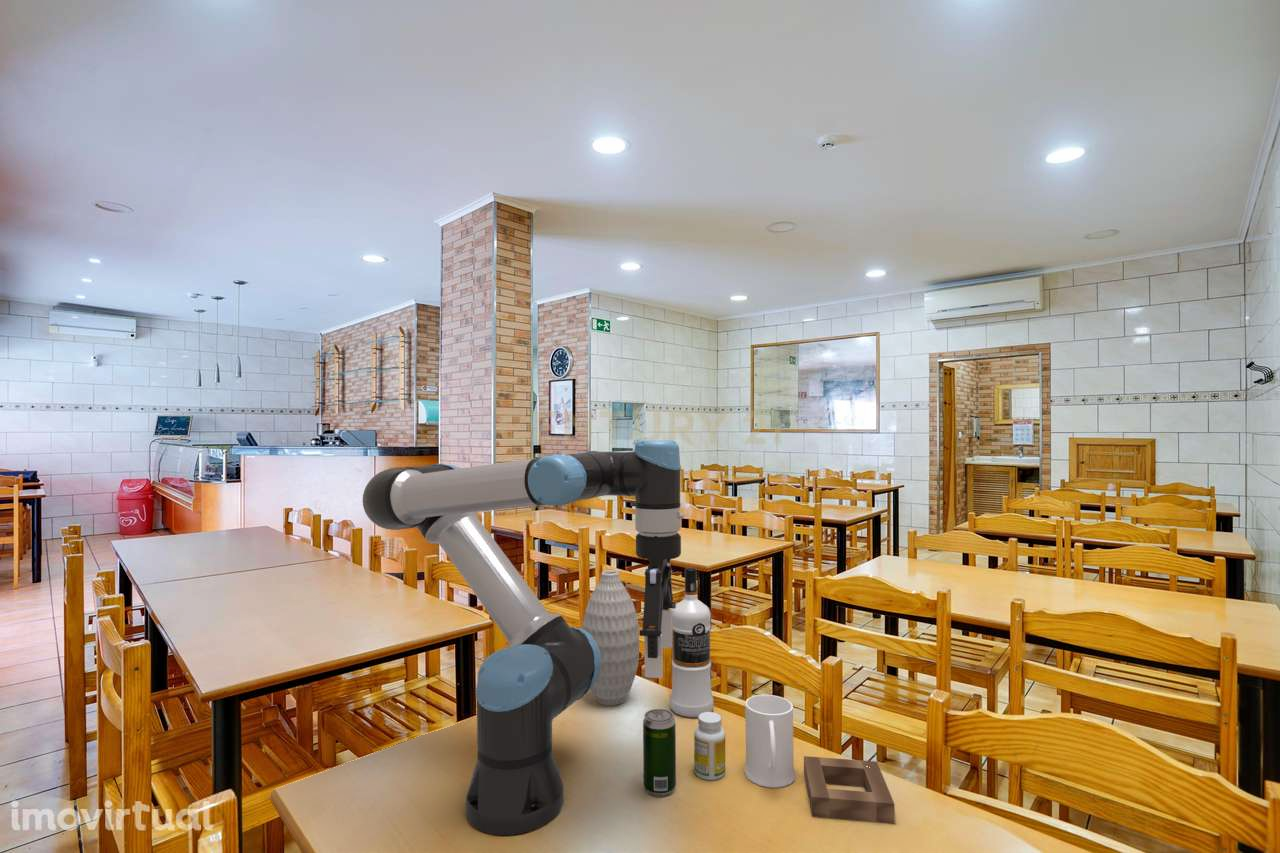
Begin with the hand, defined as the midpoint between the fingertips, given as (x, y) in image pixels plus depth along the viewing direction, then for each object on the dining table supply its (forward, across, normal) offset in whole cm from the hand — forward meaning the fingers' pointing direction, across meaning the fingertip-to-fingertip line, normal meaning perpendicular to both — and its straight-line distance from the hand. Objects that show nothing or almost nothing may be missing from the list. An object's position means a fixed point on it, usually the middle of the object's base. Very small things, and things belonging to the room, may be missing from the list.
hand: (659, 661), depth 102 cm
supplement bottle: (+21, +6, -8) cm, 23 cm away
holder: (+21, +2, -30) cm, 37 cm away
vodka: (+21, +30, -3) cm, 37 cm away
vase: (+21, +32, +15) cm, 41 cm away
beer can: (+21, 0, 0) cm, 21 cm away
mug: (+21, +5, -18) cm, 28 cm away
